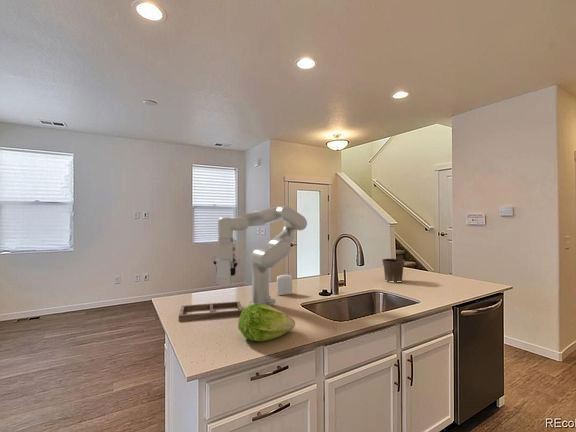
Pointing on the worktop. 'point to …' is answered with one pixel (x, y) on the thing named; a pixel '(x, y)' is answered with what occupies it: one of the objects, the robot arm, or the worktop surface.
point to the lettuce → (264, 322)
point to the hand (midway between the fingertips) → (225, 274)
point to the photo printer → (284, 284)
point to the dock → (211, 314)
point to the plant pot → (393, 269)
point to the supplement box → (224, 272)
